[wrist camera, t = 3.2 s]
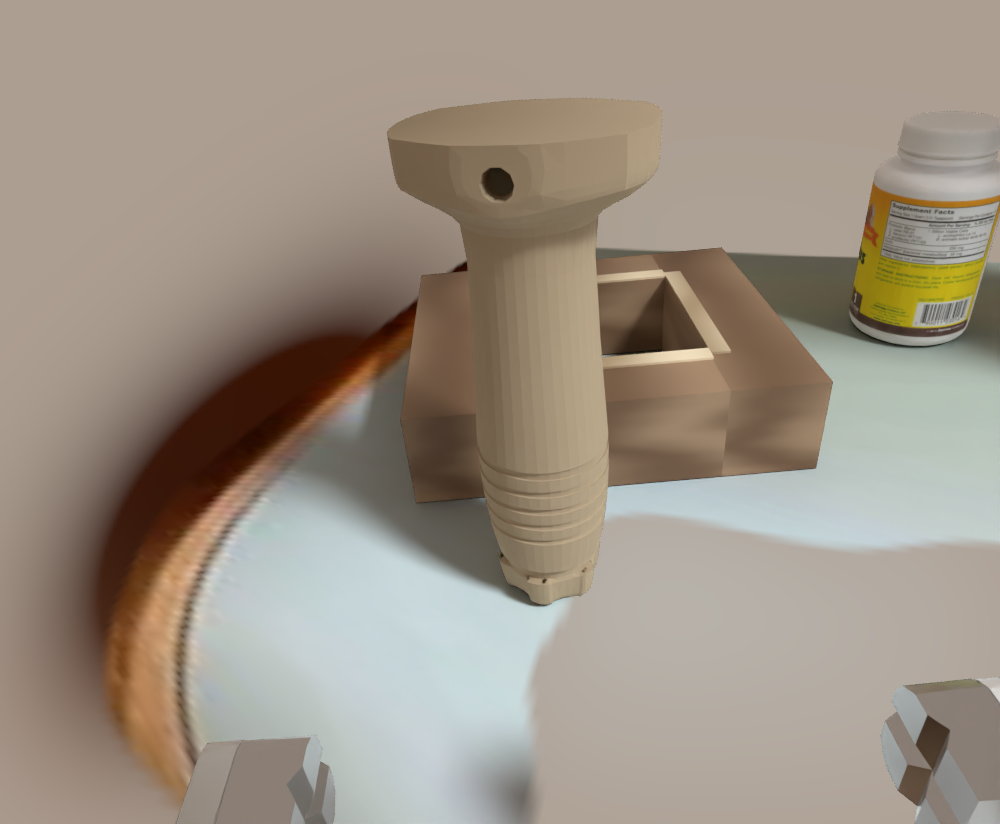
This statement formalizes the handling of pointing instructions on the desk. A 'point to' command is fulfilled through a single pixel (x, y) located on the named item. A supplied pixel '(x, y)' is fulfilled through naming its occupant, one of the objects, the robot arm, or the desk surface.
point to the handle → (535, 306)
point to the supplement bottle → (929, 230)
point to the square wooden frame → (636, 378)
